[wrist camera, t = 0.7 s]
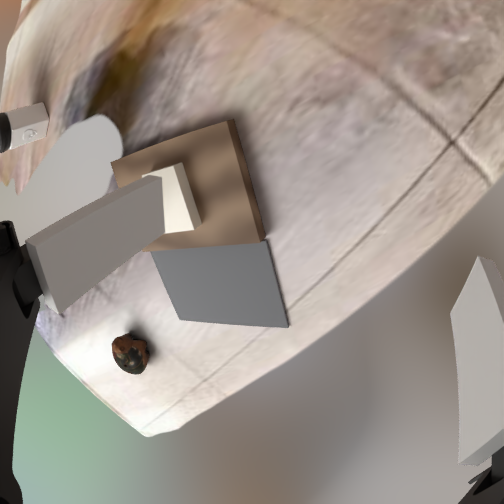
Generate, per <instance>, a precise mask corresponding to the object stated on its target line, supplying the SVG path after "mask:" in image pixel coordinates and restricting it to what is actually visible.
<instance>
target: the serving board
mask: <svg viewBox="0 0 504 504" xmlns="http://www.w3.org/2000/svg"><path fill="white" fill-rule="evenodd" d="M181 162H182V163H183V166H184V170H185V173H186V176H187V179H188V182H189V186H190V189H191V192H192V195H193V198H194V201H195V204H196V207H197V210H198V214H199V217H200V220H201V223H202V224H201V225H200V226H199V227H197V228H196V229H195V230H190V231H181V232H173V233H165V234H162V235H161V236H160V237H158V238H157V239H156V240H154V241H153V242H152V243H150V244H149V245H147V246H146V247H145V248H143V249H142V251H143V252H148V251H161V250H173V249H186V248H199V247H212V246H225V245H239V244H252V243H261V242H262V240H263V239H264V238H265V237H266V235H265V231H264V228H263V224H262V220H261V216H260V213H259V209H258V205H257V201H256V198H255V194H254V190H253V187H252V183H251V179H250V176H249V172H248V168H247V165H246V161H245V157H244V154H243V150H242V146H241V143H240V139H239V136H238V132H237V129H236V125H235V121H234V119H233V120H228V121H224V122H221V123H218V124H214V125H211V126H208V127H205V128H201V129H198V130H195V131H192V132H189V133H186V134H183V135H180V136H178V137H175V138H172V139H169V140H166V141H164V142H161V143H158V144H155V145H153V146H150V147H148V148H145V149H142V150H140V151H137V152H135V153H132V154H130V155H127V156H125V157H123V158H120V159H118V160H115V161H113V162H111V166H112V169H113V172H114V175H115V178H116V181H117V184H118V187H119V189H120V188H122V187H124V186H126V185H128V184H130V183H132V182H134V181H136V180H139V179H141V178H142V175H144V174H146V173H149V172H151V171H154V170H157V169H161V168H164V167H167V166H171V165H174V164H177V163H181Z"/></svg>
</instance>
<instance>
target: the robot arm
mask: <svg viewBox="0 0 504 504" xmlns="http://www.w3.org/2000/svg"><path fill="white" fill-rule="evenodd" d="M164 233H165V221H164V206H163V187H162V177H159V176H153V175H147V176H145V177H143V178H141V179H139V180H136V181H134V182H132V183H130V184H128V185H126V186H124V187H122V188H120V189H118V190H116V191H114V192H112V193H110V194H108V195H106V196H104V197H102V198H100V199H98V200H96V201H94V202H92V203H90V204H88V205H86V206H84V207H82V208H81V209H79V210H77V211H75V212H73V213H71V214H70V215H68V216H66V217H64V218H62V219H61V220H59V221H57V222H55V223H54V224H52V225H50V226H49V227H47V228H45V229H43V230H42V231H40V232H38V233H37V234H35V235H33V236H32V237H30V238H28V239H27V240H25V243H26V244H24V245H23V246H21V247H20V246H19V242H18V239H17V236H16V232H15V229H14V225H13V222H12V221H2V222H0V504H23V500H22V499H23V498H22V492H21V489H20V486H19V484H18V482H17V480H16V479H15V477H14V474H13V470H12V460H13V459H12V458H13V443H14V432H15V423H16V414H17V407H18V400H19V394H20V388H21V382H22V376H23V371H24V367H25V361H26V357H27V353H28V349H29V345H30V341H31V337H32V333H33V329H34V325H35V322H36V318H37V315H38V311H39V308H40V301H39V299H38V297H39V296H40V295H41V294H43V295H44V298H45V300H46V303H47V305H48V307H49V308H51V309H52V310H53V311H55V312H56V313H58V314H59V315H60V314H61V313H62V312H63V311H64V310H66V309H67V308H68V307H69V306H70V305H72V304H73V303H74V302H75V301H77V300H78V299H79V298H80V297H81V296H83V295H84V294H85V293H86V292H88V291H89V290H90V289H91V288H93V287H94V286H95V285H96V284H98V283H99V282H100V281H101V280H103V279H104V278H105V277H107V276H108V275H109V274H110V273H112V272H113V271H114V270H116V269H117V268H118V267H120V266H121V265H122V264H123V263H125V262H126V261H127V260H129V259H130V258H131V257H133V256H134V255H135V254H137V253H138V252H139V251H141V250H142V249H143V248H145V247H146V246H147V245H149V244H150V243H152V242H153V241H154V240H156V239H157V238H158V237H160V236H161V235H162V234H164ZM450 315H451V321H452V328H453V335H454V343H455V352H456V362H457V373H458V389H459V455H458V456H459V457H458V464H461V465H476V466H477V465H480V464H481V463H483V462H484V461H485V460H487V459H488V458H490V457H491V456H492V466H491V467H489V468H488V469H486V470H485V471H483V472H482V473H480V474H479V475H477V476H476V477H474V478H473V479H471V480H470V481H469V482H468V483H469V484H472V483H473V482H475V481H477V482H476V483H475V484H474V485H473V487H472V488H471V489H470V490H469V492H468V493H467V494H466V495H465V496H464V497H463V499H462V500H461V501H460V502H459V503H458V504H504V282H503V280H502V278H501V275H500V273H499V271H498V269H497V267H496V265H495V263H494V261H492V260H489V259H486V258H483V257H480V256H478V257H477V259H476V261H475V264H474V266H473V268H472V271H471V273H470V275H469V277H468V279H467V281H466V283H465V286H464V288H463V289H462V292H461V294H460V295H459V297H458V299H457V301H456V303H455V305H454V307H453V309H452V311H451V313H450Z"/></svg>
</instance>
